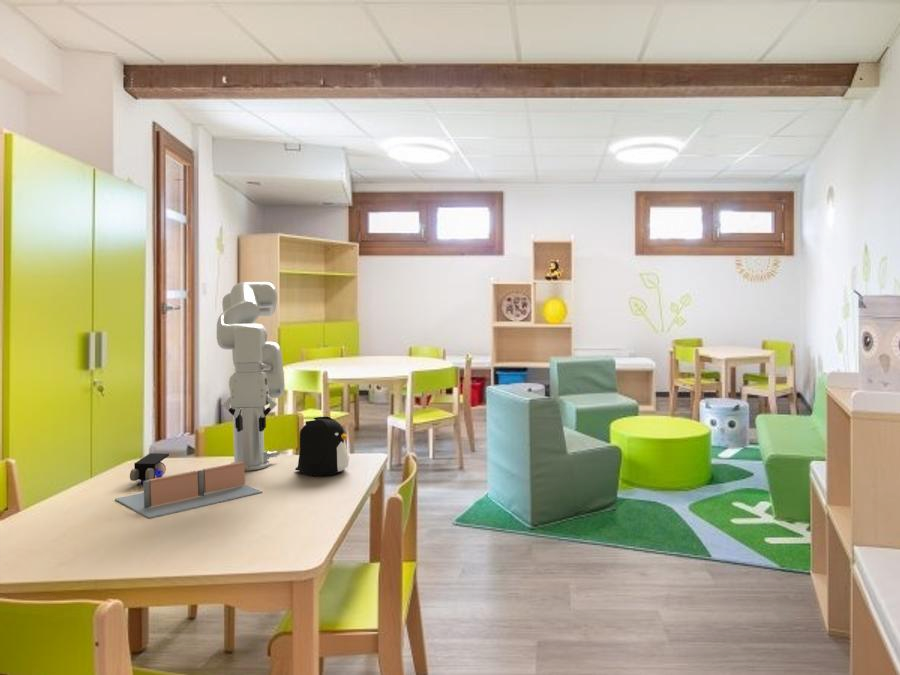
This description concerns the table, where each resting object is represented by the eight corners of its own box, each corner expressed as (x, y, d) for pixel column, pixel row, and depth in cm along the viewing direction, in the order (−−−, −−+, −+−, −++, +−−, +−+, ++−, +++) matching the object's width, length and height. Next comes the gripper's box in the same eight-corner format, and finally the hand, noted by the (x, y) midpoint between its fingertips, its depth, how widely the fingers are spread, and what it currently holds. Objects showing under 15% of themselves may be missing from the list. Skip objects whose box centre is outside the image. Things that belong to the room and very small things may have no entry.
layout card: (222, 477, 220) (222, 476, 220) (262, 492, 203) (262, 490, 203) (114, 499, 198) (114, 498, 198) (149, 518, 181) (149, 516, 181)
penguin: (339, 480, 215) (338, 423, 214) (283, 478, 218) (282, 422, 217) (357, 466, 233) (356, 413, 232) (305, 464, 236) (304, 412, 235)
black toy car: (153, 492, 211) (171, 473, 226) (150, 467, 209) (169, 450, 224) (129, 492, 210) (150, 474, 225) (127, 468, 209) (147, 451, 224)
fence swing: (206, 493, 200) (205, 470, 199) (203, 492, 201) (202, 469, 200) (245, 484, 208) (244, 462, 208) (242, 483, 209) (241, 461, 209)
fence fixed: (202, 495, 201) (201, 469, 200) (205, 496, 200) (204, 470, 199) (143, 508, 189) (142, 480, 189) (145, 509, 188) (144, 481, 188)
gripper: (282, 366, 207) (283, 428, 208) (223, 367, 207) (225, 428, 209) (275, 369, 200) (277, 433, 201) (214, 370, 200) (216, 433, 201)
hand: (250, 430), depth 205 cm, fingers open, 5 cm apart
